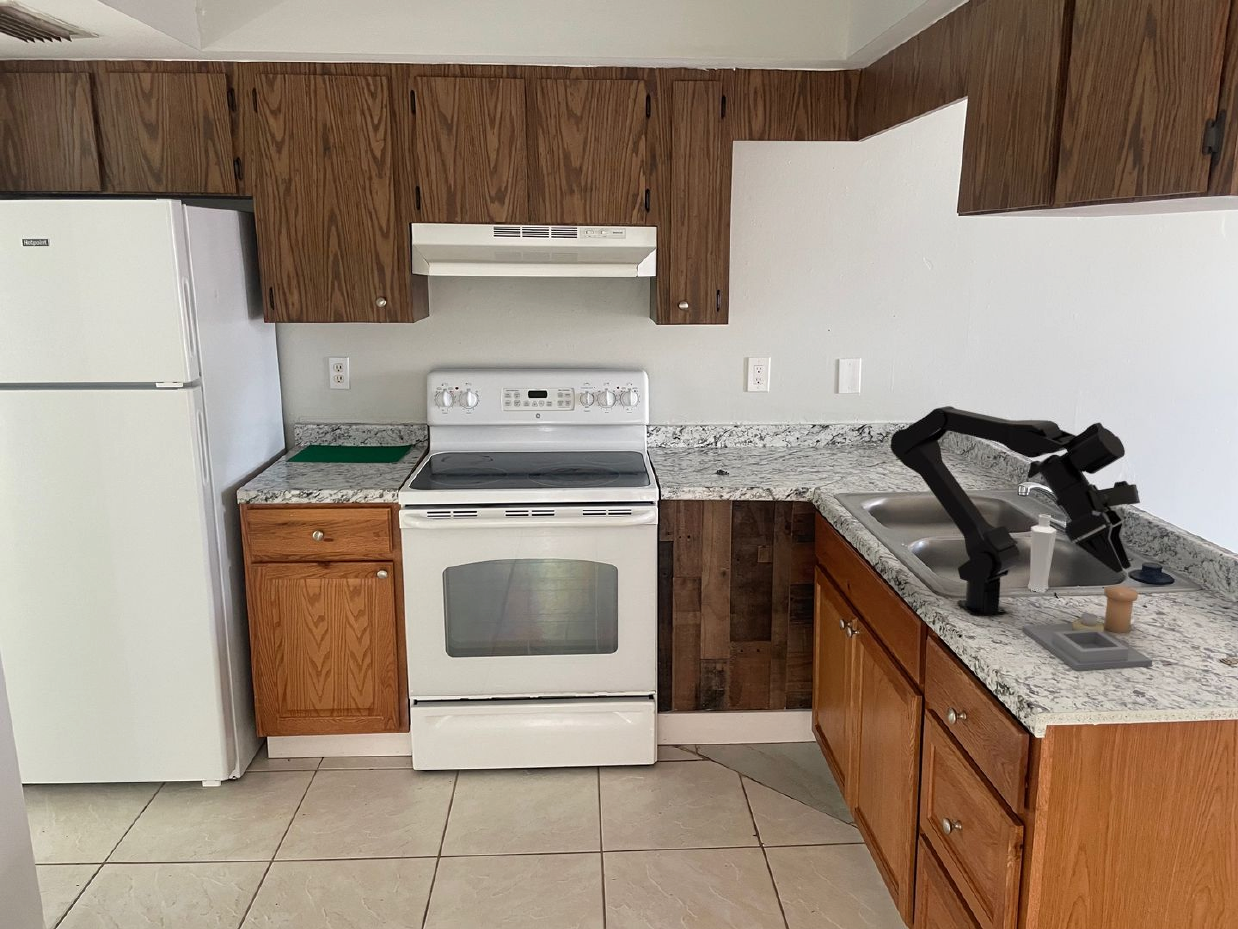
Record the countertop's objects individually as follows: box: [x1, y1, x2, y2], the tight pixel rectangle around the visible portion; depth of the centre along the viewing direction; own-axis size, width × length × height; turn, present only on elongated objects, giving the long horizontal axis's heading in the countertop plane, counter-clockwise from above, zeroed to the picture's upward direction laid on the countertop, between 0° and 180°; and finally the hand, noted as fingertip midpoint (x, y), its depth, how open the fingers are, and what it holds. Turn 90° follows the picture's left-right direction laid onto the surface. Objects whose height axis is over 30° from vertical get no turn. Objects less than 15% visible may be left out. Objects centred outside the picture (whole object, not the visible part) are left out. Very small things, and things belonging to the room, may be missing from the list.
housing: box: [1022, 612, 1153, 672], centre depth 160 cm, size 16×13×4 cm
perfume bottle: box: [1027, 513, 1057, 594], centre depth 186 cm, size 5×4×15 cm
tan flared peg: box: [1103, 585, 1139, 634], centre depth 167 cm, size 5×5×7 cm
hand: (1124, 569), depth 156 cm, fingers open, 9 cm apart
